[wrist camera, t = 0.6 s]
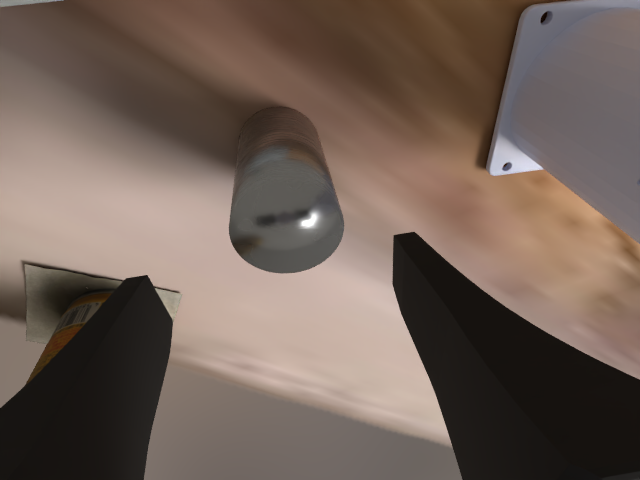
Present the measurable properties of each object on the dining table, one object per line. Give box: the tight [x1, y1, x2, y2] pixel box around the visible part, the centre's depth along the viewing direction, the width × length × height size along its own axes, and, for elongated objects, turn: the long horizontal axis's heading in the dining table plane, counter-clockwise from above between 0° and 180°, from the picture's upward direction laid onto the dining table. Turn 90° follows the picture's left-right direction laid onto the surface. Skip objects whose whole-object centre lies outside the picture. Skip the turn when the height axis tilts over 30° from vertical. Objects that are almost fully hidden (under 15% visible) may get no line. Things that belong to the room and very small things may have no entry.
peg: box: [229, 107, 344, 273], centre depth 16 cm, size 4×4×7 cm
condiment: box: [24, 264, 182, 384], centre depth 19 cm, size 7×8×12 cm
